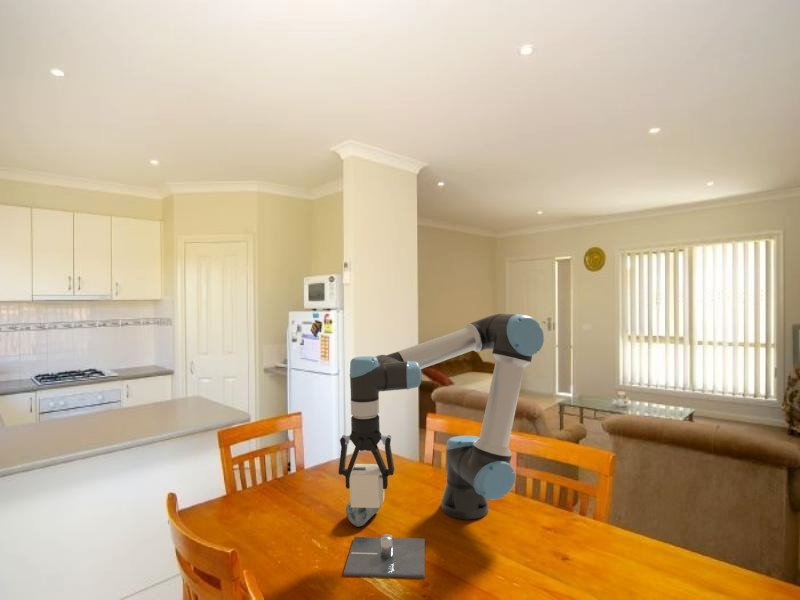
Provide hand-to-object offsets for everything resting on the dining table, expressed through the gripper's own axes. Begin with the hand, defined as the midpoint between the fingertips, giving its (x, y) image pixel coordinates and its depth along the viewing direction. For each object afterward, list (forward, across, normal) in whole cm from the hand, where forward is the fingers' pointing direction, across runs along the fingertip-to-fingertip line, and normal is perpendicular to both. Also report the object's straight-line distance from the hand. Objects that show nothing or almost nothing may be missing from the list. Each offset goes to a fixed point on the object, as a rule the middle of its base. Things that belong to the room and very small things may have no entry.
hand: (367, 499), depth 117 cm
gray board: (+15, -5, +1) cm, 16 cm away
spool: (+15, +4, -19) cm, 24 cm away
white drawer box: (0, 0, 0) cm, 0 cm away
